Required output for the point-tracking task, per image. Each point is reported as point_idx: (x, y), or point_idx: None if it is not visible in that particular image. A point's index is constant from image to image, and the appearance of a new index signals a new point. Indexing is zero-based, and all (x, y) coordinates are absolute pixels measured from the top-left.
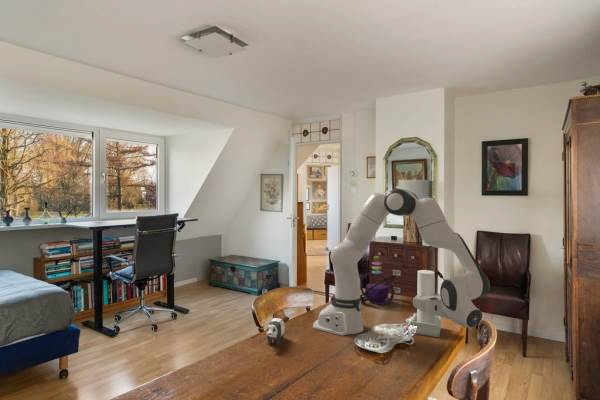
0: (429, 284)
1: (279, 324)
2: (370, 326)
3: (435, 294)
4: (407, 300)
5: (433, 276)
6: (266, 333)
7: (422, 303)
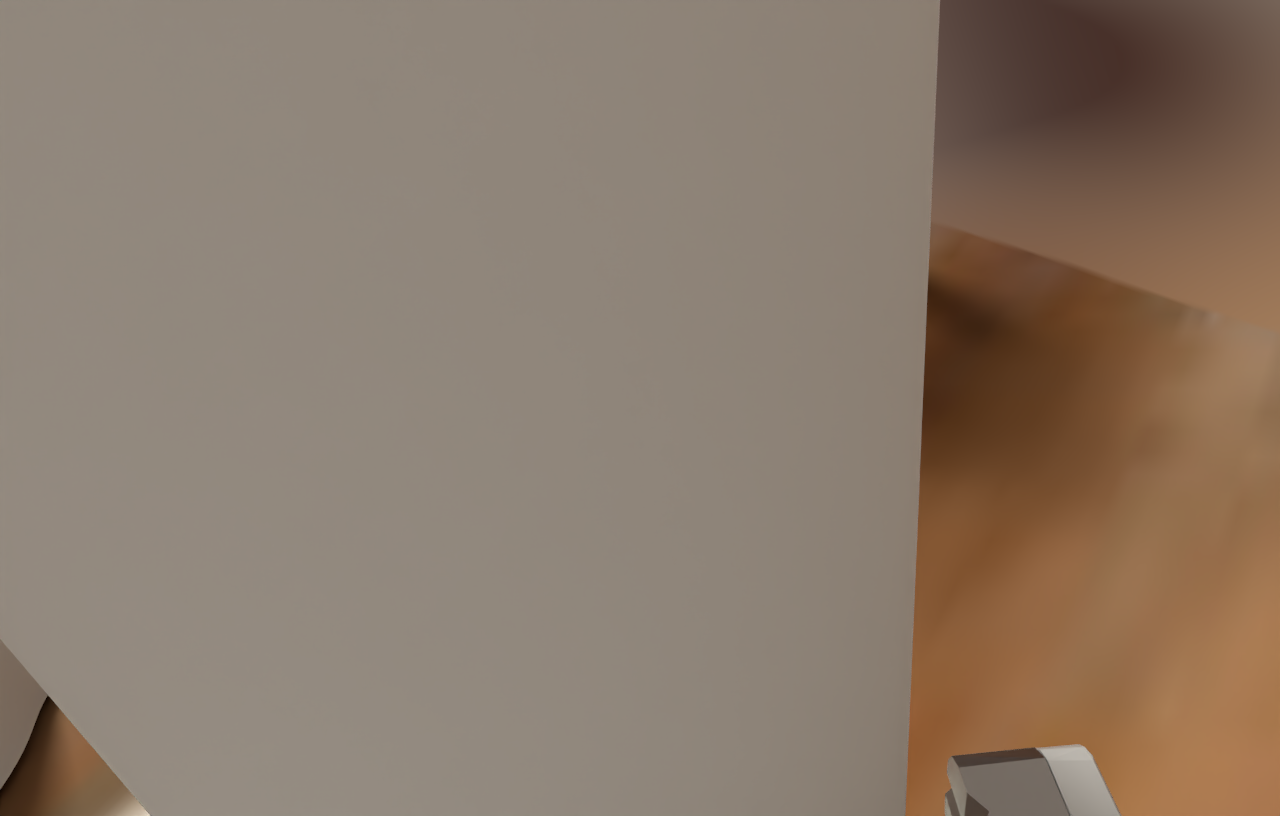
0: (247, 803)
1: None
2: (95, 799)
3: (975, 811)
4: (942, 273)
5: (513, 94)
6: None
7: None
